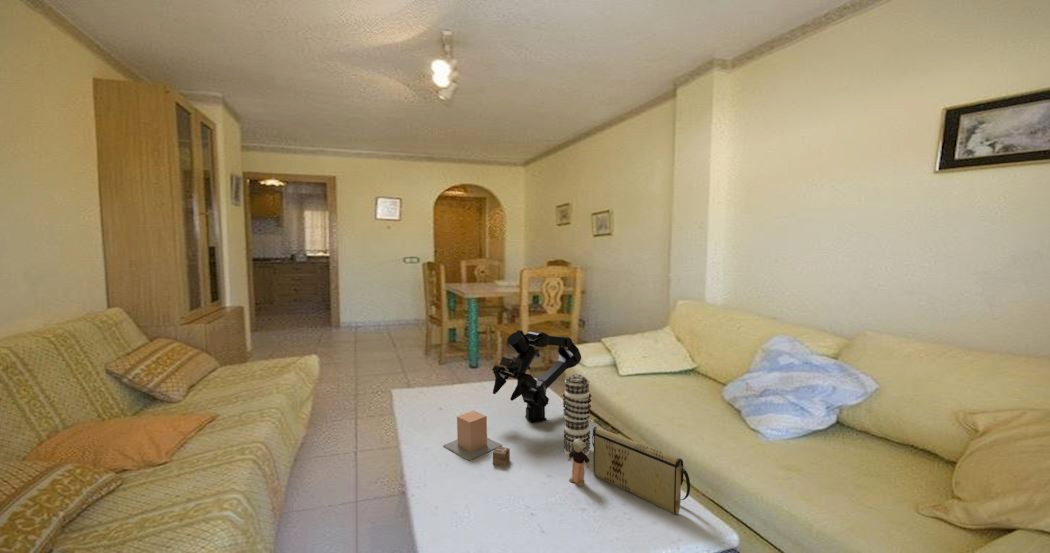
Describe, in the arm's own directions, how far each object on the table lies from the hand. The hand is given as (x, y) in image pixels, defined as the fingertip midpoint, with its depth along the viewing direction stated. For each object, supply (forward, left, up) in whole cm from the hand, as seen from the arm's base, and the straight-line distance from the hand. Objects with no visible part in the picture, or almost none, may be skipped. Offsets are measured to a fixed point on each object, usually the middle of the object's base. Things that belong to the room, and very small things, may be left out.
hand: (502, 396), depth 156 cm
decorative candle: (-17, +22, -14) cm, 32 cm away
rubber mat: (+13, +4, -14) cm, 19 cm away
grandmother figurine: (-8, +38, -14) cm, 42 cm away
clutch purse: (-21, +49, -14) cm, 55 cm away
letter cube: (+8, +18, -14) cm, 24 cm away
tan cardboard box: (+13, +4, -13) cm, 19 cm away
